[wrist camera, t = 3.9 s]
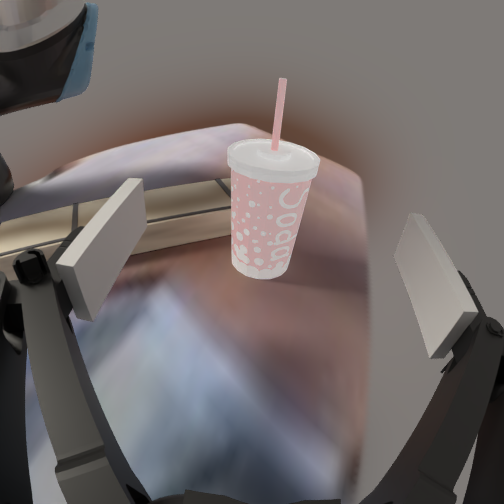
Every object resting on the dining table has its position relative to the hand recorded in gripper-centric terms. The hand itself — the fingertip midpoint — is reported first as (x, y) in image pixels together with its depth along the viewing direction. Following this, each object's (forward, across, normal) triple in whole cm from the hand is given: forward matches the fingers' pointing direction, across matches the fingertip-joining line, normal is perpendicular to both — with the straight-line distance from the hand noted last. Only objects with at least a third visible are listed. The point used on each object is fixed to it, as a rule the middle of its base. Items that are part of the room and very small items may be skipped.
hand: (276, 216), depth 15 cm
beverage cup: (+7, 0, -8) cm, 11 cm away
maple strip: (+9, -12, -8) cm, 17 cm away
